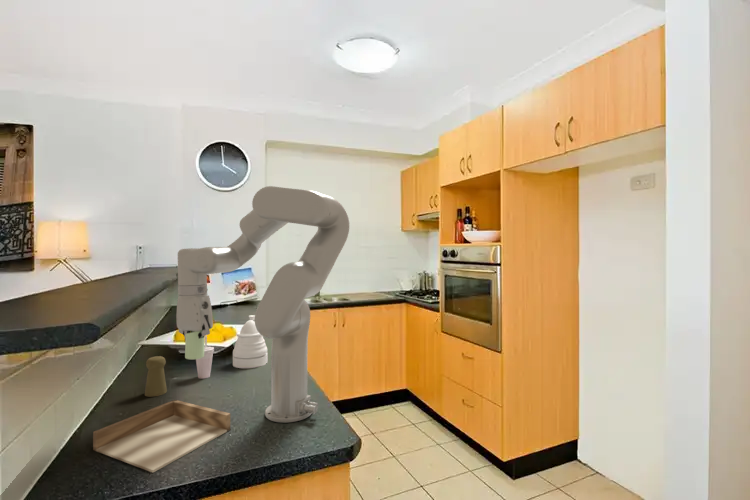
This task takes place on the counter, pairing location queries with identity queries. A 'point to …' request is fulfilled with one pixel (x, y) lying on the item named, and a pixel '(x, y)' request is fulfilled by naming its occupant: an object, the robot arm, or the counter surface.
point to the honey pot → (249, 347)
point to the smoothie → (205, 362)
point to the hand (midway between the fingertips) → (194, 354)
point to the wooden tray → (161, 434)
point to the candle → (194, 345)
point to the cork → (155, 377)
